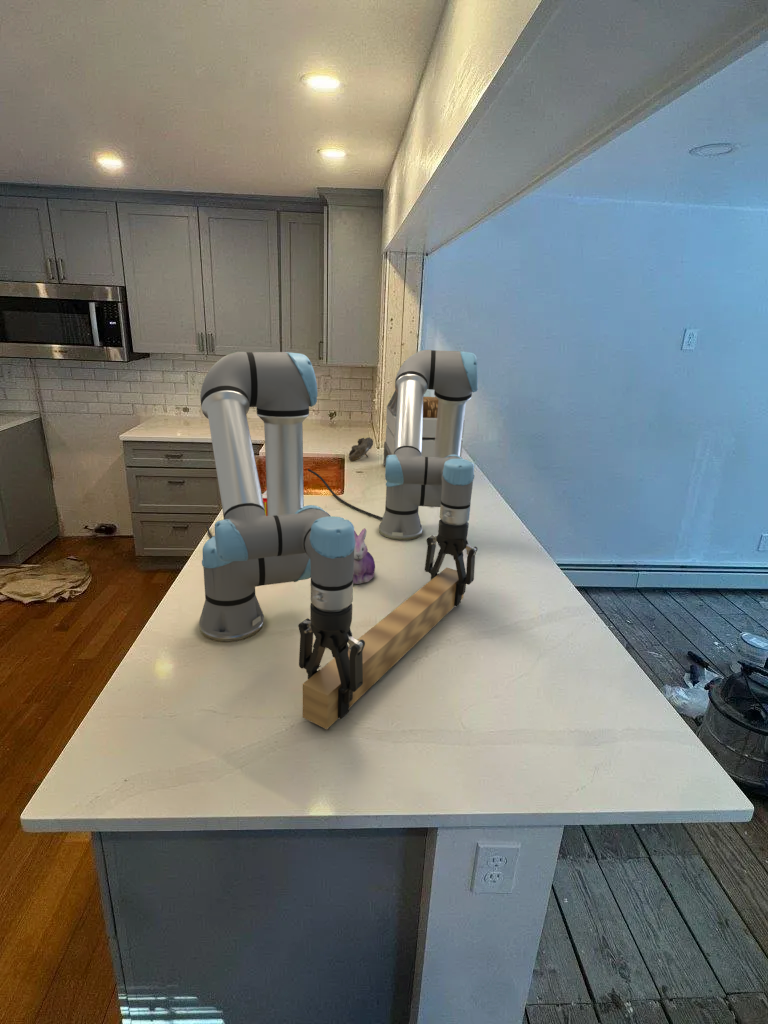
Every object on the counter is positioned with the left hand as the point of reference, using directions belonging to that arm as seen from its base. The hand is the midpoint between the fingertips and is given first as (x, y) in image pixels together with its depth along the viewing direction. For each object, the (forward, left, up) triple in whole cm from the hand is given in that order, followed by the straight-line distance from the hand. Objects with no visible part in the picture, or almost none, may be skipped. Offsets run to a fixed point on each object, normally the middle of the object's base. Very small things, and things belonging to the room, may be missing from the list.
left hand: (329, 707), depth 110 cm
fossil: (-154, +129, -2) cm, 201 cm away
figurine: (-43, +41, -2) cm, 60 cm away
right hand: (-16, +50, 0) cm, 52 cm away
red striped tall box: (-95, +43, -2) cm, 104 cm away
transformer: (-115, +135, -2) cm, 177 cm away
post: (-8, +25, 0) cm, 26 cm away
